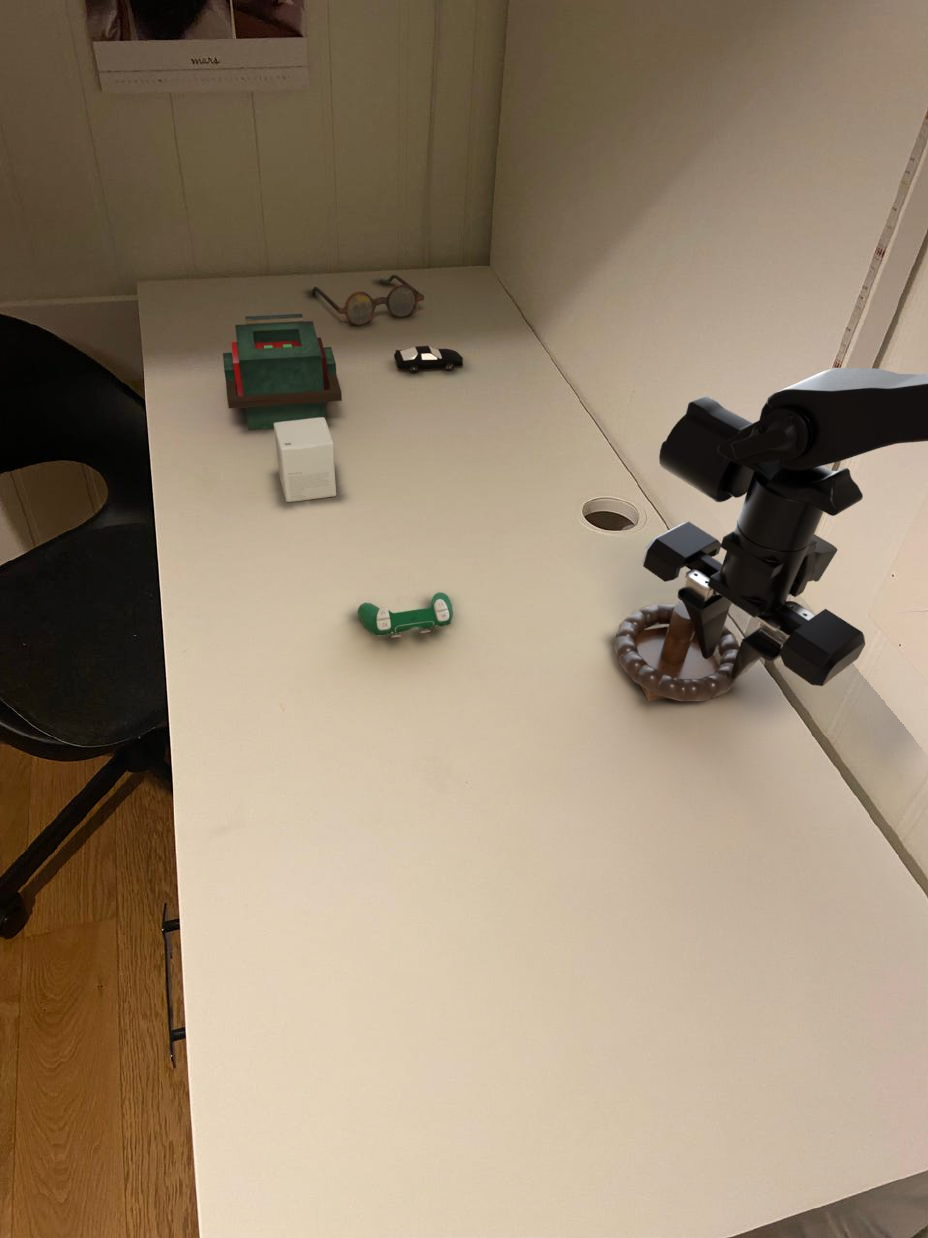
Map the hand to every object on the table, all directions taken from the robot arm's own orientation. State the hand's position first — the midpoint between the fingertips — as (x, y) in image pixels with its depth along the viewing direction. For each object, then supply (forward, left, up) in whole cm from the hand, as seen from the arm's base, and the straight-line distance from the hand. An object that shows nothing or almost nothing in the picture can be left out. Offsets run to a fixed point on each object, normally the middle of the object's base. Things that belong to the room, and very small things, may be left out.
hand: (721, 666), depth 76 cm
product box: (+33, -41, -4) cm, 52 cm away
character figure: (+34, -63, -4) cm, 71 cm away
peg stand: (+2, -5, -4) cm, 6 cm away
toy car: (+12, -69, -4) cm, 70 cm away
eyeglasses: (+18, -92, -4) cm, 93 cm away
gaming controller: (+26, -15, -4) cm, 30 cm away
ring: (+2, -4, -2) cm, 5 cm away
